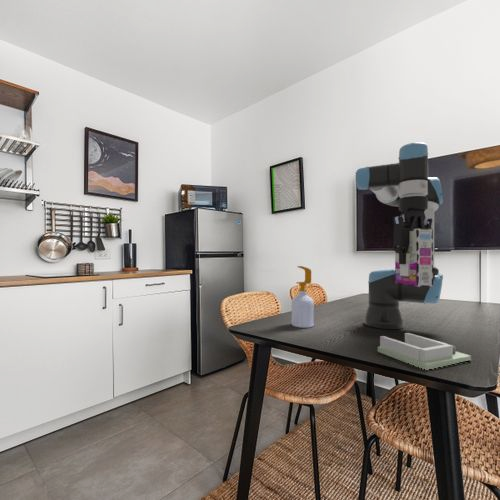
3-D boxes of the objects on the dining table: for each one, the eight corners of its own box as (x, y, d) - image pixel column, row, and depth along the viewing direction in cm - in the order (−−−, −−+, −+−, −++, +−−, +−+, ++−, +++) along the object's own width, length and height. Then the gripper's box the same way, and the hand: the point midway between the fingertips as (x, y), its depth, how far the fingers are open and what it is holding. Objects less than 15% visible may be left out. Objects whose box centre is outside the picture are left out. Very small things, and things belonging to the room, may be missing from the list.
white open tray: (419, 345, 99) (419, 331, 99) (471, 361, 84) (471, 345, 84) (377, 351, 92) (377, 336, 92) (426, 370, 77) (426, 352, 77)
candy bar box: (434, 287, 83) (434, 228, 84) (417, 287, 83) (417, 228, 83) (409, 283, 95) (409, 231, 95) (394, 283, 94) (393, 231, 94)
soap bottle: (287, 324, 127) (287, 265, 127) (305, 322, 131) (305, 265, 131) (299, 329, 119) (299, 266, 119) (318, 326, 122) (318, 266, 123)
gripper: (400, 192, 82) (400, 277, 82) (447, 197, 89) (447, 275, 89) (378, 196, 89) (378, 275, 89) (423, 201, 96) (423, 274, 96)
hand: (412, 275), depth 89 cm, fingers closed on candy bar box, 6 cm apart
